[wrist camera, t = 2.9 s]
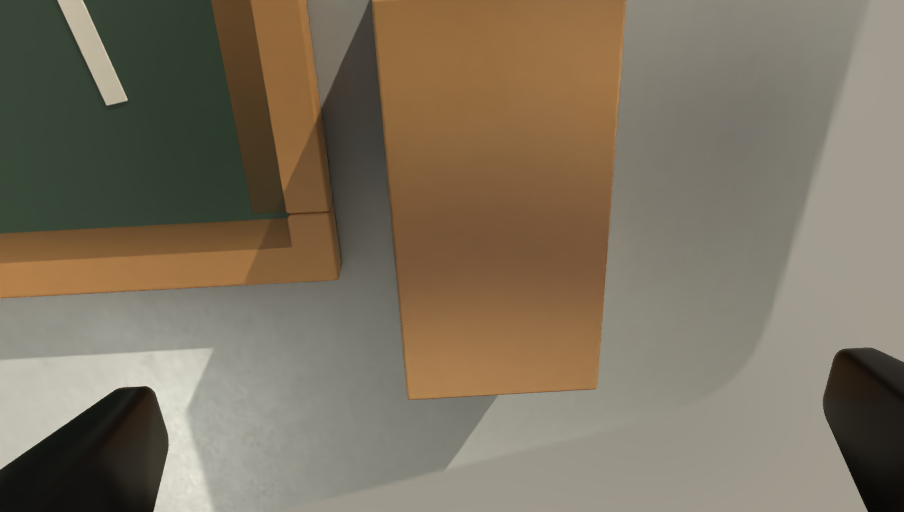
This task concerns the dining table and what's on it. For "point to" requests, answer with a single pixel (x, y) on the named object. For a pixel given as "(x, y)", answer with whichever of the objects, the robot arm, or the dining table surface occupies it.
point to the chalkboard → (160, 147)
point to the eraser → (499, 187)
